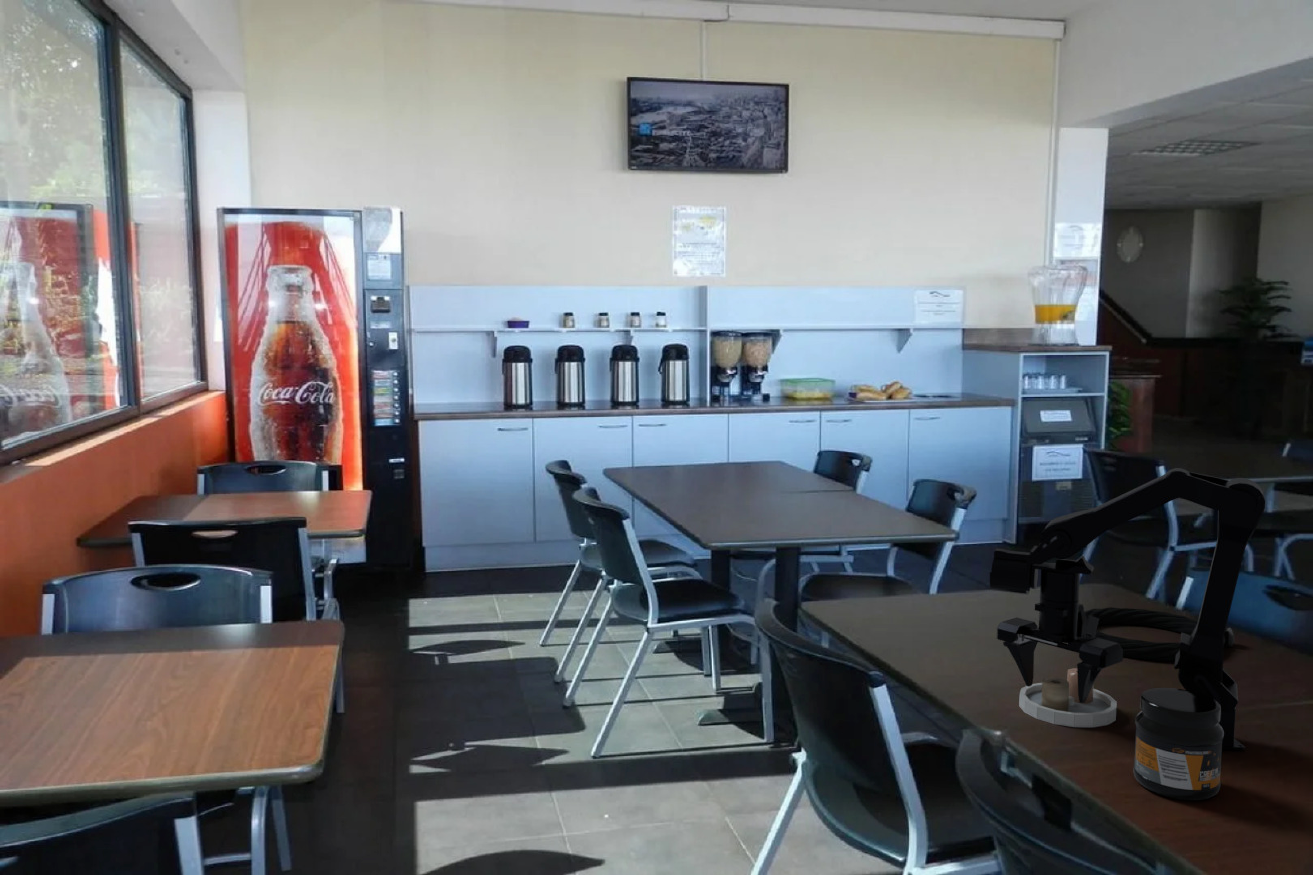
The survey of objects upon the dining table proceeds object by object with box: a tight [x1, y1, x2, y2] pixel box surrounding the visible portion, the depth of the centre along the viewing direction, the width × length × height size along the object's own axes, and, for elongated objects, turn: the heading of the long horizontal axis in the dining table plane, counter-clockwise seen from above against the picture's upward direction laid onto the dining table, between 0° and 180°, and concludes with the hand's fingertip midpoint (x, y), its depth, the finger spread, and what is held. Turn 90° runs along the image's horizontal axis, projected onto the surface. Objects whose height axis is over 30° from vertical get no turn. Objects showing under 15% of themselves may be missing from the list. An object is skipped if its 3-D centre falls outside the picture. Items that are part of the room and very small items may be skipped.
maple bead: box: [1041, 677, 1069, 712], centre depth 161 cm, size 4×4×5 cm
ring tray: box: [1018, 682, 1118, 728], centre depth 163 cm, size 14×14×2 cm
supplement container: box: [1132, 687, 1224, 801], centre depth 136 cm, size 10×10×12 cm
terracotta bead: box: [1066, 667, 1095, 703], centre depth 165 cm, size 4×4×4 cm
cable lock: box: [1077, 606, 1235, 662], centre depth 200 cm, size 28×4×30 cm
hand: (1055, 693), depth 161 cm, fingers open, 9 cm apart
